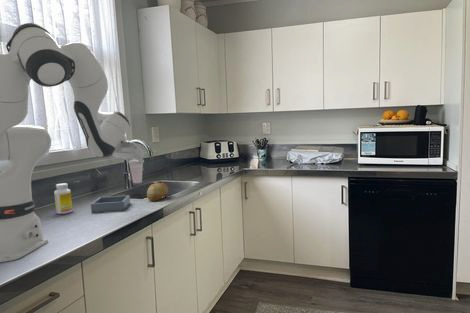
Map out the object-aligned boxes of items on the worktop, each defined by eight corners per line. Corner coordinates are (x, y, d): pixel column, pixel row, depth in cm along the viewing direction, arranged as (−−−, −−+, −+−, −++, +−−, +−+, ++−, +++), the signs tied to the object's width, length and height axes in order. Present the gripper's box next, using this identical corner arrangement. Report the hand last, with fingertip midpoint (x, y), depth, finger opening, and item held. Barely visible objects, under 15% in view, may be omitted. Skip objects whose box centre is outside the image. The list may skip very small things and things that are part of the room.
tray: (124, 210, 154) (123, 201, 153) (91, 213, 152) (90, 204, 152) (130, 203, 167) (129, 195, 167) (100, 205, 166) (99, 197, 165)
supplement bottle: (76, 210, 158) (73, 182, 156) (65, 214, 151) (62, 185, 150) (63, 210, 160) (61, 182, 158) (52, 214, 153) (49, 185, 152)
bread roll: (172, 195, 182) (171, 180, 182) (162, 202, 168) (161, 185, 167) (155, 195, 184) (154, 180, 183) (143, 202, 169) (142, 186, 168)
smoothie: (129, 182, 154) (126, 150, 152) (144, 180, 156) (141, 149, 154) (130, 184, 148) (127, 151, 146) (145, 182, 150) (143, 150, 148)
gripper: (134, 135, 138) (156, 157, 146) (106, 135, 150) (127, 155, 159) (125, 147, 135) (148, 169, 143) (97, 147, 147) (119, 166, 156)
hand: (137, 162), depth 151 cm, fingers closed on smoothie, 6 cm apart
